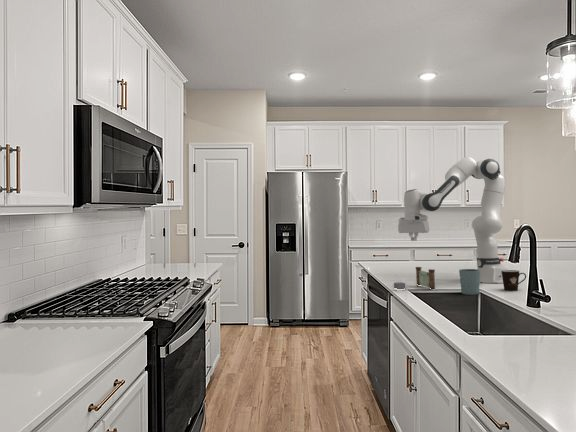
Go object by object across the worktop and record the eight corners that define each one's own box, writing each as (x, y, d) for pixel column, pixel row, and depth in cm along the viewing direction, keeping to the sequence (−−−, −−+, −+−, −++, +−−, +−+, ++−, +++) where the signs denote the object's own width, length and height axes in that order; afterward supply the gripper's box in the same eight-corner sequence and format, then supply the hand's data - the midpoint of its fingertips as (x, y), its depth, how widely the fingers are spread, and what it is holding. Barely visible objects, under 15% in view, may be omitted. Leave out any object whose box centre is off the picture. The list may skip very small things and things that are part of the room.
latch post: (432, 288, 266) (431, 268, 266) (437, 289, 260) (436, 269, 260) (426, 288, 265) (425, 269, 265) (431, 290, 260) (430, 270, 260)
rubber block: (401, 289, 267) (401, 282, 267) (405, 290, 263) (405, 283, 263) (394, 289, 266) (393, 282, 266) (397, 291, 262) (397, 283, 262)
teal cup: (458, 294, 244) (457, 270, 244) (461, 291, 253) (460, 268, 253) (479, 295, 239) (479, 271, 239) (482, 292, 248) (481, 268, 248)
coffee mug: (501, 290, 250) (500, 271, 250) (502, 288, 257) (501, 269, 257) (526, 291, 244) (525, 272, 244) (526, 289, 252) (526, 270, 252)
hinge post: (420, 285, 278) (419, 266, 278) (423, 286, 274) (422, 267, 274) (415, 285, 277) (414, 267, 277) (418, 286, 274) (417, 267, 274)
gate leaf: (422, 284, 274) (421, 270, 274) (431, 287, 264) (430, 272, 264) (419, 284, 274) (419, 270, 274) (428, 287, 263) (428, 272, 263)
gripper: (395, 217, 287) (396, 240, 287) (423, 216, 271) (424, 241, 271) (402, 217, 291) (403, 240, 291) (430, 216, 275) (431, 240, 275)
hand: (413, 240), depth 281 cm, fingers closed
